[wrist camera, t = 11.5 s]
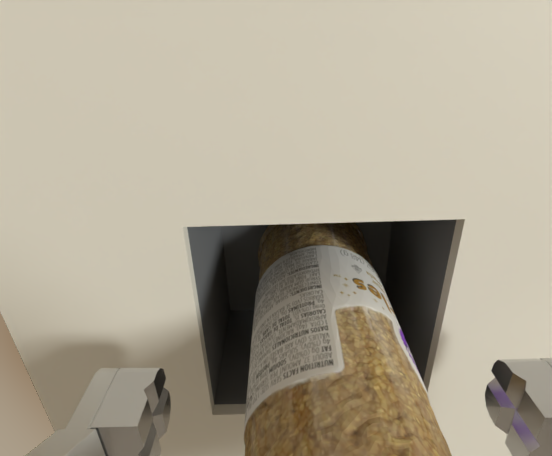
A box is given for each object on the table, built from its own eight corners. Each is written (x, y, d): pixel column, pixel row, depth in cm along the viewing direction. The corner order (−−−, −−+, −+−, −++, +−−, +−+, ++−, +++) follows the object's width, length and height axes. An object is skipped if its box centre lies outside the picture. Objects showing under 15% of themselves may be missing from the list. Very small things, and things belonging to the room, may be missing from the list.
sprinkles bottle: (382, 262, 16) (696, 910, 4) (293, 309, 17) (335, 924, 5) (329, 178, 14) (593, 865, 2) (234, 237, 16) (94, 902, 4)
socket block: (39, 1, 13) (-155, -30, 7) (576, -18, 12) (834, -67, 7) (141, 380, 21) (90, 509, 15) (468, 372, 20) (543, 501, 15)
